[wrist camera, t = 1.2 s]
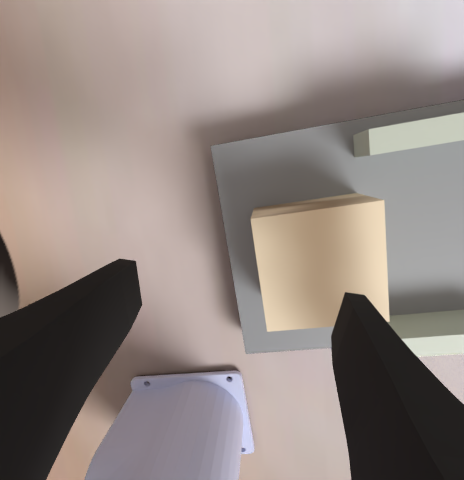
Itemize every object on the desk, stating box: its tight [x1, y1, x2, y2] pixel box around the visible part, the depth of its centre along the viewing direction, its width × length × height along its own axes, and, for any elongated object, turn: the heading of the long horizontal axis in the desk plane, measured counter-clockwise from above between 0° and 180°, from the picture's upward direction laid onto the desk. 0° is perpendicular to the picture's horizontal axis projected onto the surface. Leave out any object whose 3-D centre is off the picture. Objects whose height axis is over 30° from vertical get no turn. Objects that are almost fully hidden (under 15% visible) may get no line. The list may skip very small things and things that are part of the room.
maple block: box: [251, 193, 390, 332], centre depth 16 cm, size 6×6×4 cm
